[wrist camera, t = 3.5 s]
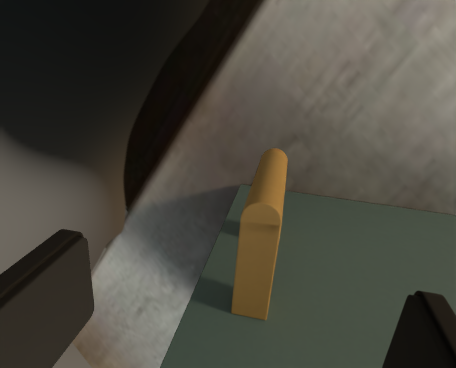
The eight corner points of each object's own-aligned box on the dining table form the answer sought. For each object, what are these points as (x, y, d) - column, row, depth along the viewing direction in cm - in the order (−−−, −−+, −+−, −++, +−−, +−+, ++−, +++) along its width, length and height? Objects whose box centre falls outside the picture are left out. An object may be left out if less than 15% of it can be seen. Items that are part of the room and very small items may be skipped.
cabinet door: (247, 120, 34) (155, 238, 12) (531, 153, 30) (1168, 418, 8) (239, 192, 37) (156, 390, 15) (497, 230, 33) (892, 575, 11)
